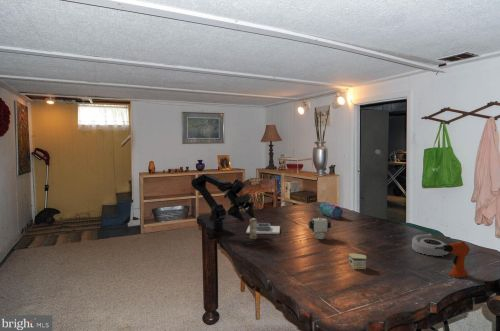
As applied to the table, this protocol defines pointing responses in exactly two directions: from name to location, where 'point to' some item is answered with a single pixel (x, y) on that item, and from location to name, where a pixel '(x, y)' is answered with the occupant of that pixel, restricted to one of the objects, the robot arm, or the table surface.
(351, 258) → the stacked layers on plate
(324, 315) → the table surface
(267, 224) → the socket plate
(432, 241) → the turbocharger housing
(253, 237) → the birch pin
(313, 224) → the pneumatic valve
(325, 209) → the pencil case
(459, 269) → the toy drill
